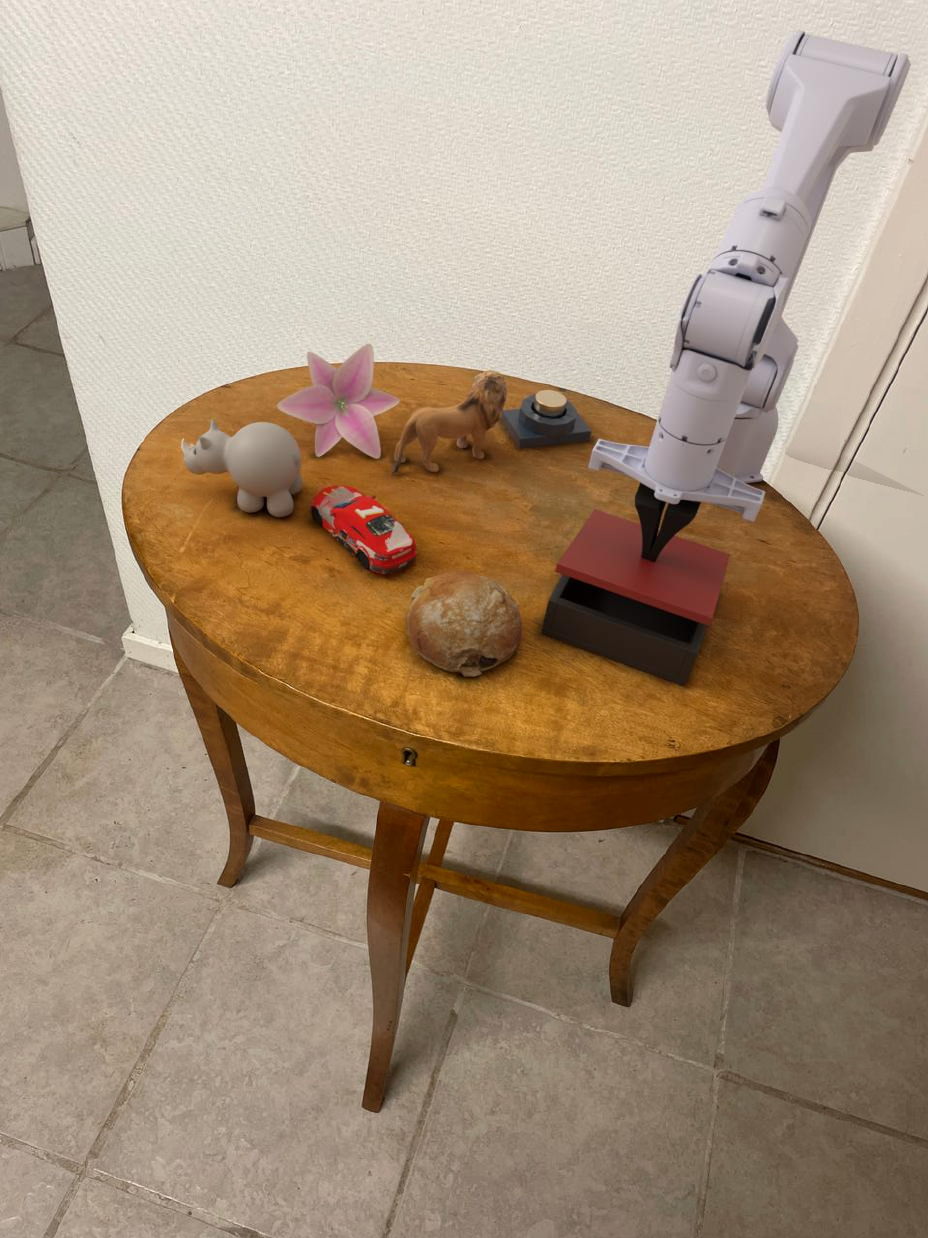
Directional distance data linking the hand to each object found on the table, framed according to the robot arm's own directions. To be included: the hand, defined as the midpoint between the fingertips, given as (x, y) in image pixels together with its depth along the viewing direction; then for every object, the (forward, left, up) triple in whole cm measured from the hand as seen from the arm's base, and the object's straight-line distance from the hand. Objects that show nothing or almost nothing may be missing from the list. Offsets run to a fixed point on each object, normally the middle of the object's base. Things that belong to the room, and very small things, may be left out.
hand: (650, 553), depth 83 cm
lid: (+1, +1, -1) cm, 1 cm away
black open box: (0, 0, -7) cm, 7 cm away
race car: (+22, -16, -7) cm, 28 cm away
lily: (+20, -33, -7) cm, 39 cm away
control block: (-4, -30, -7) cm, 31 cm away
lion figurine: (+9, -28, -7) cm, 30 cm away
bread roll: (+17, -1, -7) cm, 19 cm away
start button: (-3, -30, -4) cm, 30 cm away
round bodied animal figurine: (+32, -25, -7) cm, 41 cm away
